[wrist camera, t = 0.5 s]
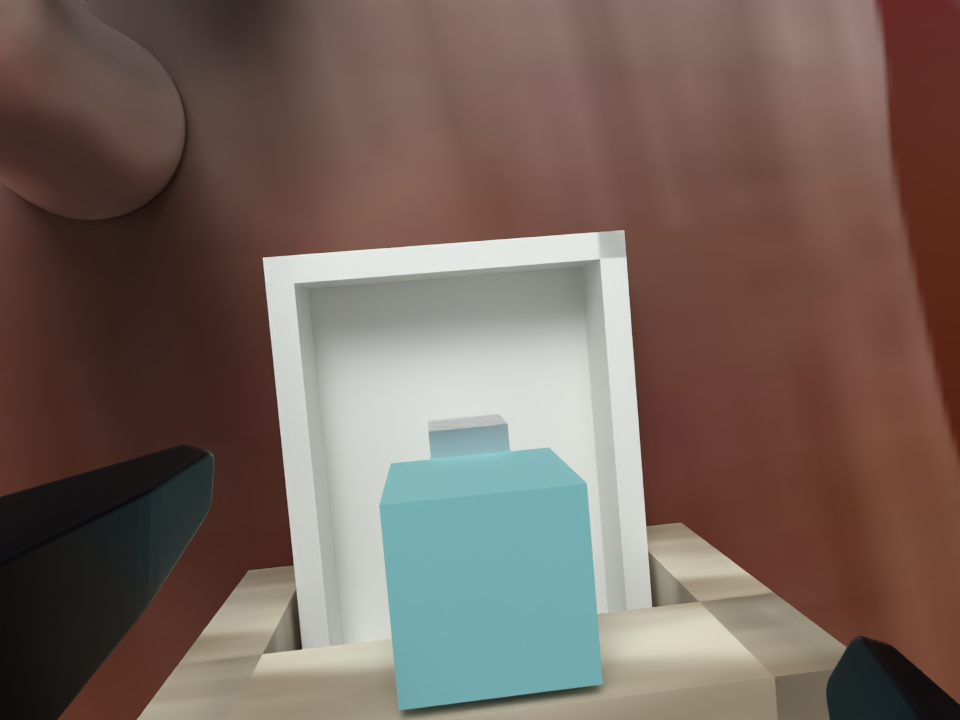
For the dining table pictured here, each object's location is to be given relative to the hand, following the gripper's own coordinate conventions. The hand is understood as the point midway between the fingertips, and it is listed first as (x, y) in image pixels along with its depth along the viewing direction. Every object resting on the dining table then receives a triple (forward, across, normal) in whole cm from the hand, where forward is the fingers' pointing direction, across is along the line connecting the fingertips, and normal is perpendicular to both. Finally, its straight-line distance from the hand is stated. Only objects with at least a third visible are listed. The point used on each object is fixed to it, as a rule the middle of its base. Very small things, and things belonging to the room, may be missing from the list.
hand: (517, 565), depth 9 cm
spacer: (+6, +1, +4) cm, 8 cm away
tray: (+12, +2, +6) cm, 14 cm away
